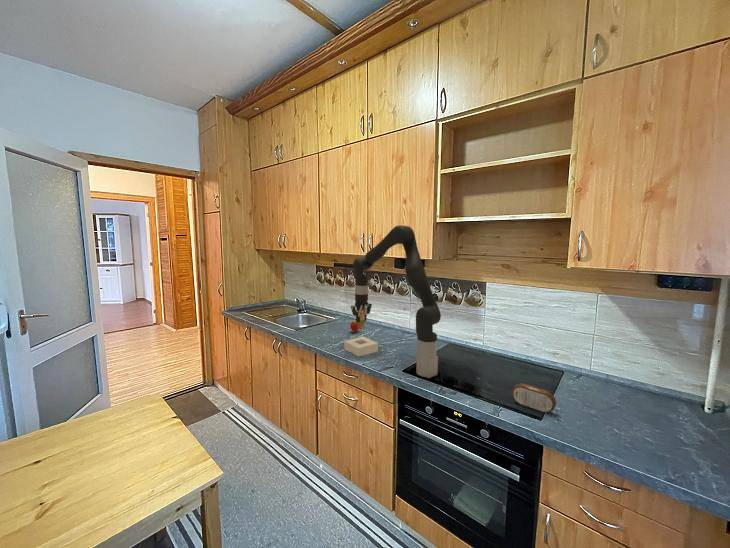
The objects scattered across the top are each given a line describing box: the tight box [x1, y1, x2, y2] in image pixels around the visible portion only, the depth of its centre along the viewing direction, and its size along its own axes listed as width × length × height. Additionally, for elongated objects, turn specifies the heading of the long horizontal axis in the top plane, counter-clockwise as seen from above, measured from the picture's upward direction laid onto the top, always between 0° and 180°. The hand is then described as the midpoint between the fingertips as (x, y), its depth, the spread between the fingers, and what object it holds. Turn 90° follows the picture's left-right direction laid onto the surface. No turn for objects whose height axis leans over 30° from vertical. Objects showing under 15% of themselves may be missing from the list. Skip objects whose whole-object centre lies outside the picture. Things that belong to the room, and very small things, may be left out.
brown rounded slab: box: [511, 383, 557, 414], centre depth 117 cm, size 15×3×8 cm, turn 48°
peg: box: [358, 308, 366, 330], centre depth 174 cm, size 4×4×12 cm
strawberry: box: [349, 320, 359, 333], centre depth 208 cm, size 6×8×10 cm
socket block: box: [344, 336, 379, 358], centre depth 176 cm, size 14×14×5 cm
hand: (361, 321), depth 174 cm, fingers closed on peg, 4 cm apart
